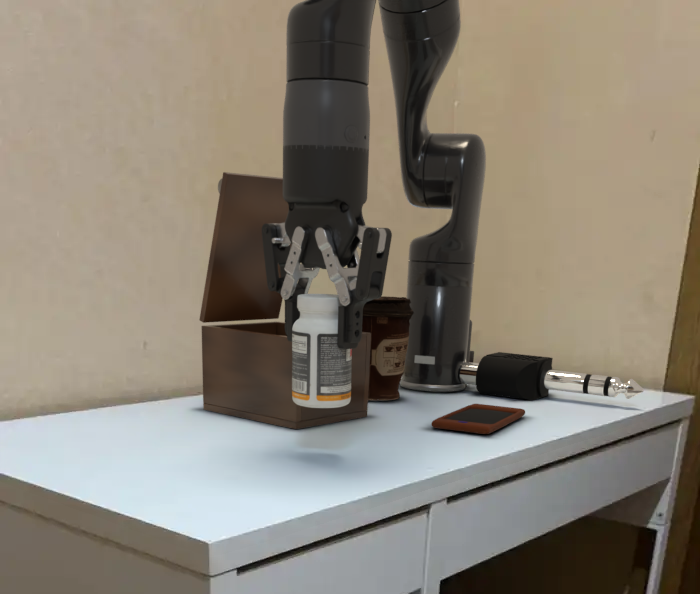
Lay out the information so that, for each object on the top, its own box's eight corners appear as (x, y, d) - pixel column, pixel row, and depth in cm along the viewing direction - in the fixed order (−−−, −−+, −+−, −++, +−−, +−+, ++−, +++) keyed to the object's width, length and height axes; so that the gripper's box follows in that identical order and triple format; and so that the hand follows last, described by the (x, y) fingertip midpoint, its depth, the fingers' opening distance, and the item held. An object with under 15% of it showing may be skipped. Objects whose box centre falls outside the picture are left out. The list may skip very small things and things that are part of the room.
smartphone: (430, 419, 107) (472, 402, 120) (429, 428, 108) (472, 409, 120) (489, 426, 104) (526, 408, 117) (488, 435, 105) (525, 416, 117)
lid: (307, 181, 110) (275, 168, 112) (227, 174, 101) (195, 159, 103) (278, 318, 119) (250, 303, 121) (203, 322, 110) (174, 306, 112)
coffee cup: (420, 398, 128) (427, 298, 123) (390, 406, 121) (395, 300, 116) (366, 391, 132) (370, 294, 127) (334, 398, 125) (337, 295, 120)
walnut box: (367, 416, 114) (371, 332, 110) (296, 429, 105) (297, 338, 101) (275, 399, 123) (276, 321, 119) (203, 409, 114) (201, 325, 110)
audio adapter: (489, 348, 140) (657, 365, 128) (485, 384, 142) (650, 405, 130) (458, 354, 131) (635, 373, 120) (455, 393, 133) (628, 415, 122)
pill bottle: (353, 400, 92) (356, 294, 89) (347, 411, 87) (351, 299, 83) (296, 397, 93) (297, 291, 89) (287, 408, 88) (287, 296, 84)
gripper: (418, 146, 80) (406, 350, 86) (295, 149, 88) (294, 334, 95) (361, 138, 74) (354, 356, 81) (237, 142, 83) (239, 339, 89)
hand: (321, 344), depth 88 cm, fingers closed on pill bottle, 5 cm apart
